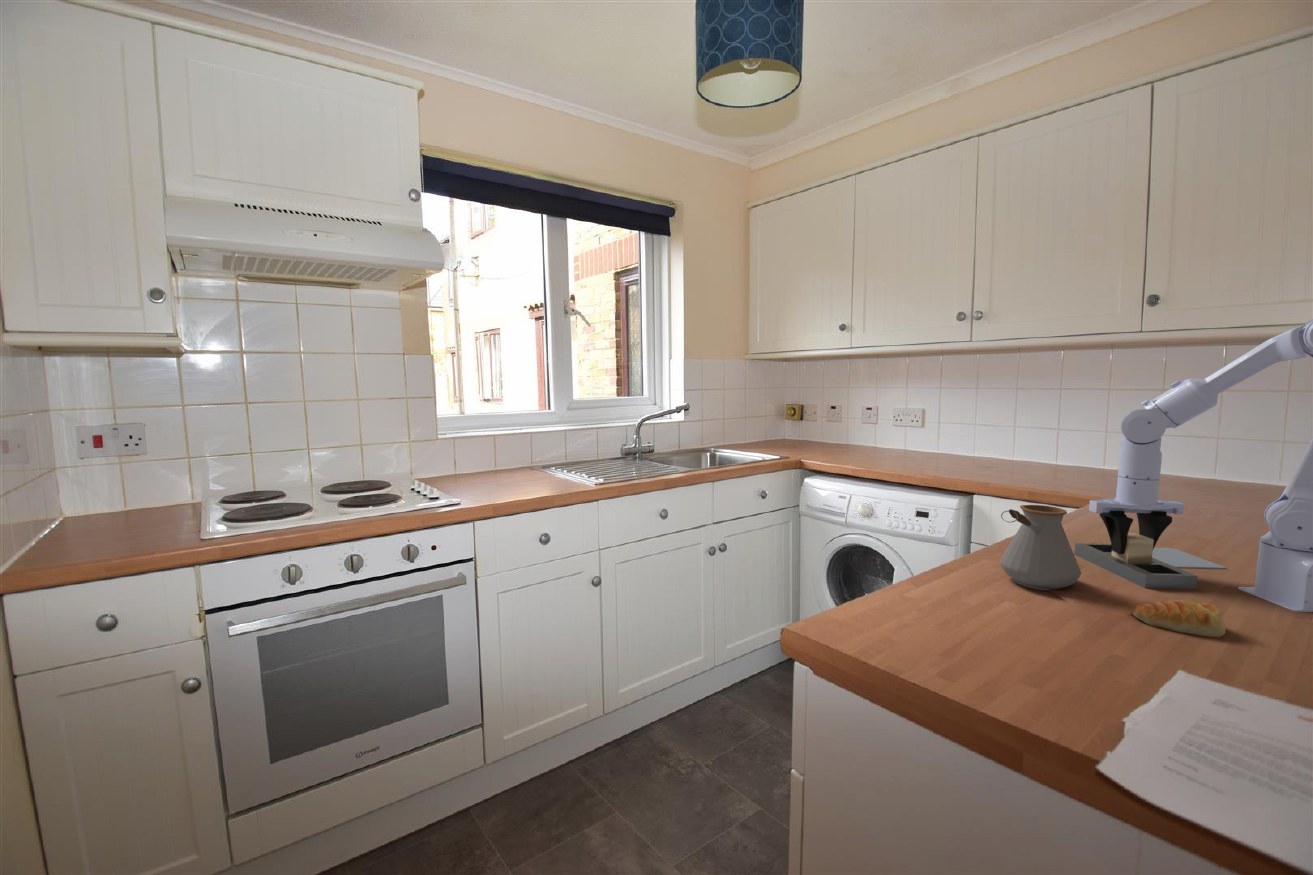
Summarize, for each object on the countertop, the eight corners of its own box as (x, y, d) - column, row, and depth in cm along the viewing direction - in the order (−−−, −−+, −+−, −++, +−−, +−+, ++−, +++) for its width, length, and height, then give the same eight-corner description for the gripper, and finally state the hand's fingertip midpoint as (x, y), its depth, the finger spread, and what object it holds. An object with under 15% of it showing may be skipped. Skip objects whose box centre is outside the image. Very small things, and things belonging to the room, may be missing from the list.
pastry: (1143, 630, 82) (1145, 603, 81) (1125, 612, 88) (1127, 587, 88) (1229, 641, 78) (1232, 613, 78) (1204, 622, 85) (1207, 596, 84)
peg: (1150, 573, 103) (1153, 539, 102) (1126, 572, 103) (1129, 539, 102) (1133, 565, 107) (1136, 533, 106) (1110, 565, 107) (1113, 533, 106)
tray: (1196, 591, 96) (1197, 575, 95) (1144, 590, 96) (1145, 574, 96) (1117, 557, 113) (1118, 544, 113) (1074, 556, 114) (1075, 543, 114)
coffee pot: (1013, 567, 108) (1019, 486, 106) (1088, 584, 99) (1096, 497, 97) (963, 595, 94) (968, 503, 92) (1045, 617, 85) (1053, 517, 84)
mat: (1226, 570, 106) (1226, 567, 106) (1156, 569, 106) (1156, 566, 106) (1172, 550, 118) (1172, 547, 117) (1109, 549, 118) (1110, 546, 118)
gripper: (1163, 474, 106) (1157, 546, 108) (1080, 473, 107) (1074, 545, 109) (1196, 481, 99) (1189, 558, 101) (1107, 480, 100) (1100, 557, 102)
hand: (1131, 552), depth 104 cm, fingers closed on peg, 4 cm apart
